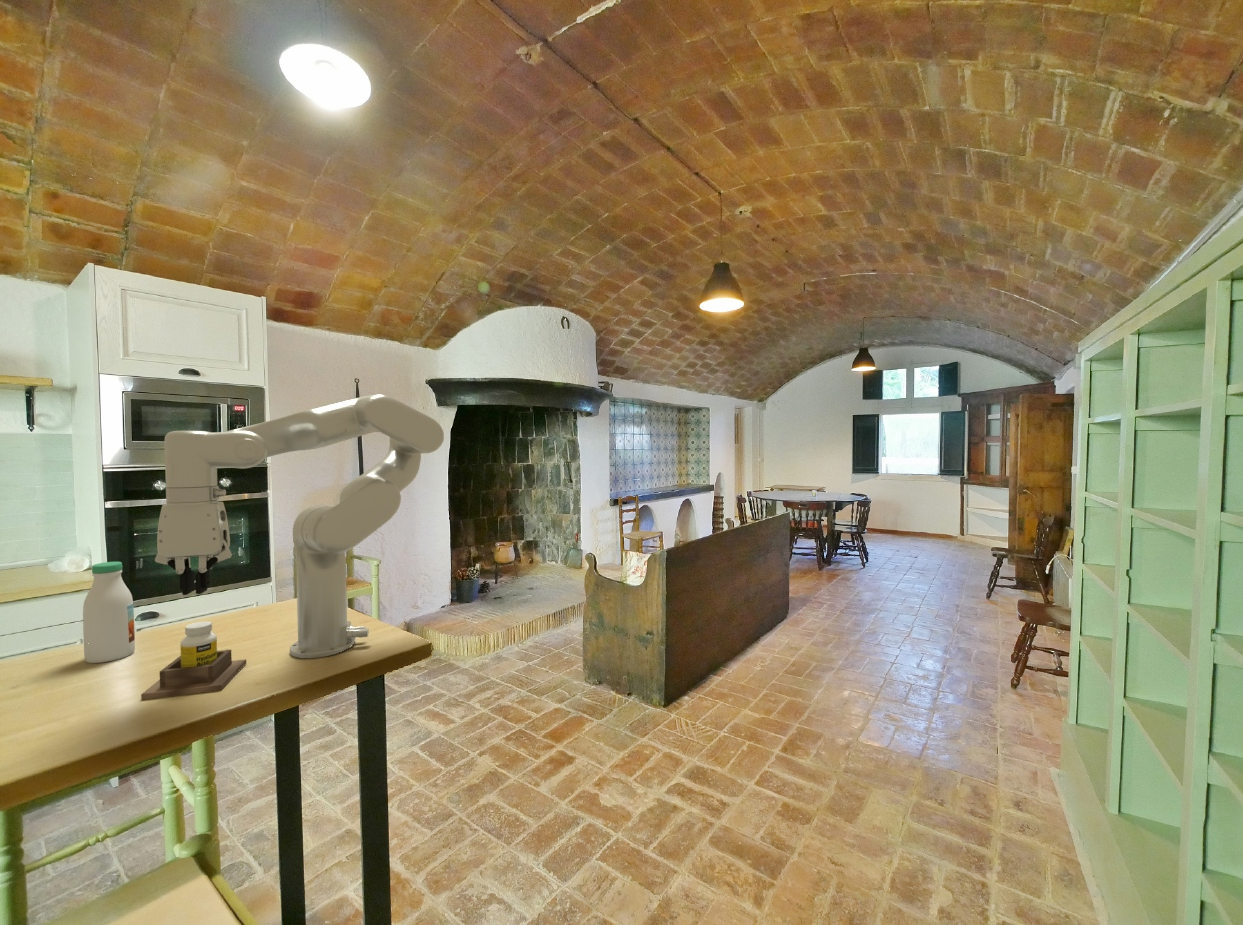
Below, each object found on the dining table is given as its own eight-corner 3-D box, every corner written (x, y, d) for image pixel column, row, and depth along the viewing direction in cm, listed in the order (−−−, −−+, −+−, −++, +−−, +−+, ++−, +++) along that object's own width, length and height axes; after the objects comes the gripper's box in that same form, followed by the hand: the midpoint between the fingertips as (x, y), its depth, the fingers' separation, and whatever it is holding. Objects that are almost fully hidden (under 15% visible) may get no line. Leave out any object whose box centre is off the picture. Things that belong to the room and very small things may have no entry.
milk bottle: (121, 661, 109) (118, 566, 108) (74, 666, 107) (71, 568, 106) (143, 648, 116) (140, 558, 116) (100, 651, 114) (96, 560, 113)
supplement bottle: (197, 682, 97) (195, 630, 97) (173, 680, 98) (171, 628, 98) (224, 670, 103) (223, 620, 102) (202, 667, 104) (200, 619, 103)
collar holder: (246, 664, 108) (245, 645, 108) (221, 690, 96) (221, 669, 96) (175, 671, 104) (175, 651, 104) (141, 699, 93) (140, 677, 93)
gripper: (248, 493, 105) (250, 584, 106) (152, 495, 100) (155, 590, 101) (233, 496, 98) (235, 594, 99) (129, 499, 93) (133, 602, 94)
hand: (195, 592), depth 100 cm, fingers closed
